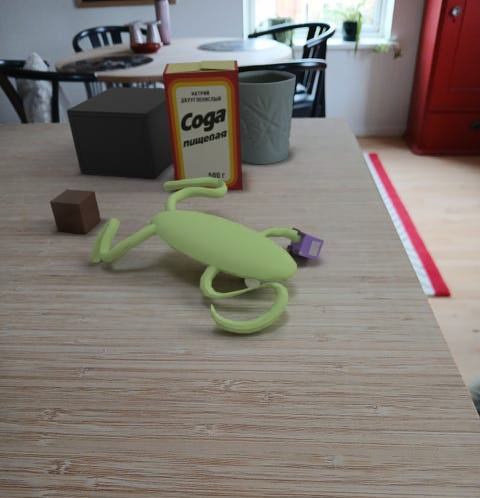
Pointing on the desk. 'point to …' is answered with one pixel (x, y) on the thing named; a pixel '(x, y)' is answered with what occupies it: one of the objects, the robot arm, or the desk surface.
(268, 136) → the grey green embossed cup
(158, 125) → the dark grey box
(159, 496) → the desk surface
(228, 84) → the baking soda box
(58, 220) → the block
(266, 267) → the figurine
